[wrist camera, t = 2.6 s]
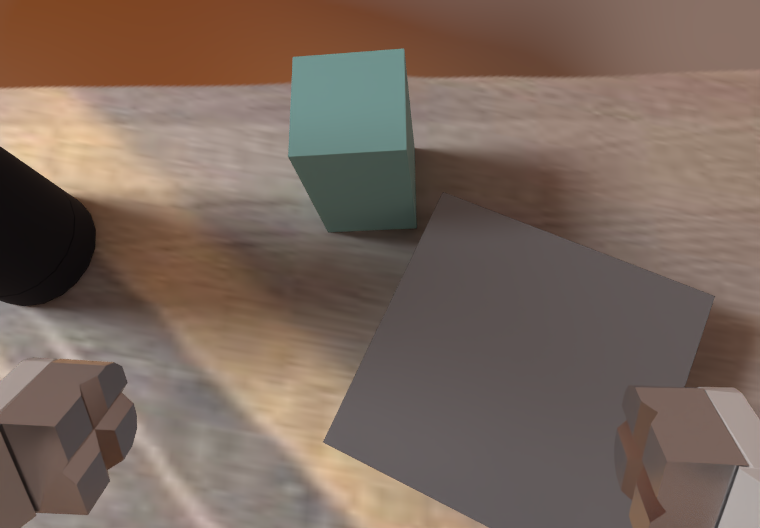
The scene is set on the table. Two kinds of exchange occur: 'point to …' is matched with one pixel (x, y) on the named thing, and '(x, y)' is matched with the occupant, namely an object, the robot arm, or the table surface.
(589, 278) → the plate
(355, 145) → the teal block
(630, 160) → the table surface
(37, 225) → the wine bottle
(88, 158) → the table surface
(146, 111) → the table surface
